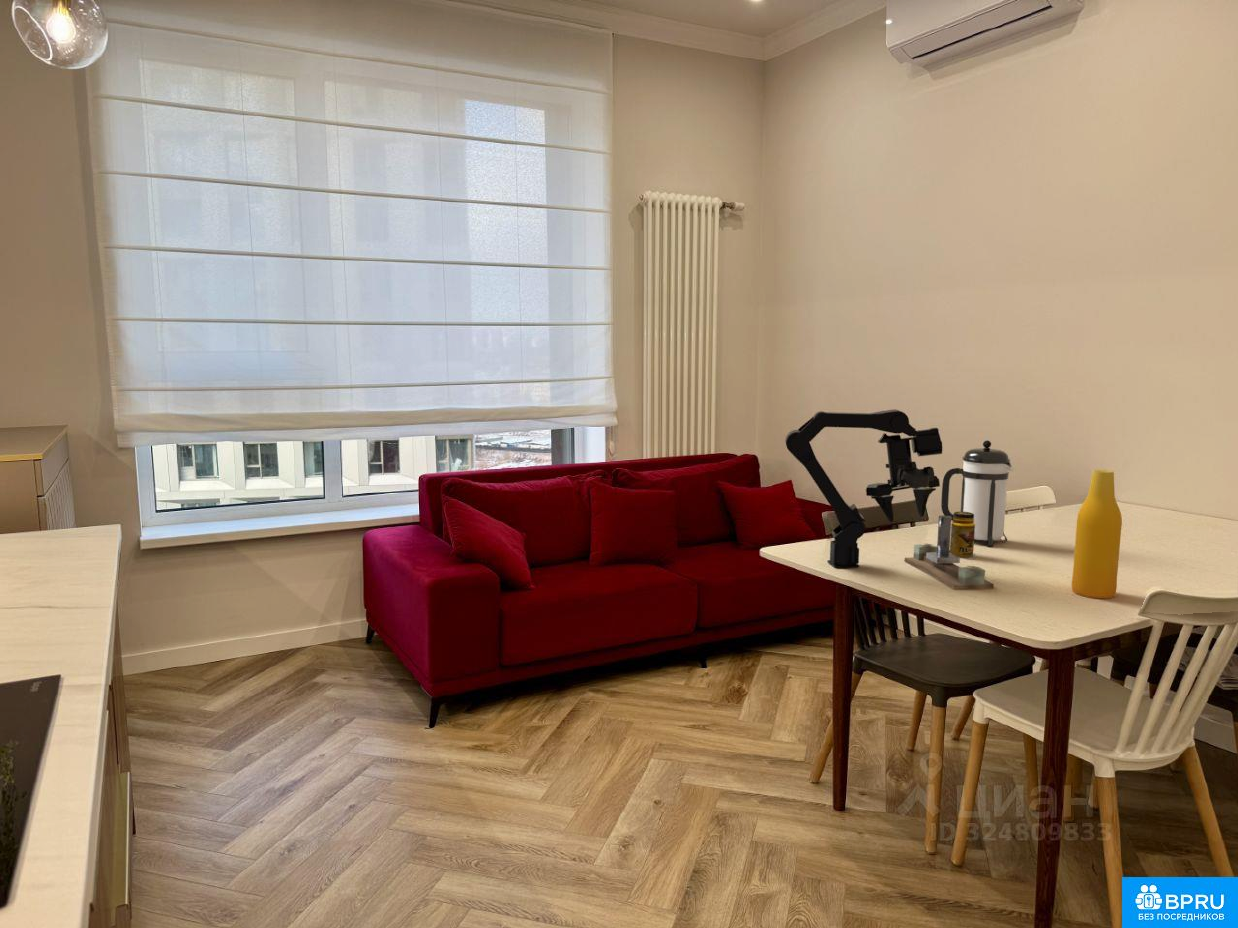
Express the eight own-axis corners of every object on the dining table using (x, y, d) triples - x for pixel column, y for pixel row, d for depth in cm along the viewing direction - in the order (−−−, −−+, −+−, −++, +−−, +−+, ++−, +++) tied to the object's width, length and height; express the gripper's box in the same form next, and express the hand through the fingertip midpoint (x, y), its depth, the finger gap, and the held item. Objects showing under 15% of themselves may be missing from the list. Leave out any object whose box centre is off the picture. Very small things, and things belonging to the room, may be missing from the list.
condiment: (972, 559, 237) (975, 516, 236) (939, 555, 241) (942, 513, 240) (976, 554, 244) (978, 511, 242) (944, 550, 248) (946, 508, 246)
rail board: (954, 589, 208) (955, 569, 208) (904, 561, 235) (905, 543, 234) (993, 588, 210) (995, 568, 209) (939, 560, 236) (940, 542, 235)
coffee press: (997, 535, 267) (1004, 437, 263) (1015, 547, 251) (1023, 443, 247) (938, 534, 269) (944, 436, 264) (953, 546, 253) (959, 442, 249)
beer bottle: (1101, 587, 210) (1111, 468, 206) (1124, 599, 201) (1135, 474, 197) (1063, 588, 210) (1072, 468, 206) (1084, 599, 201) (1095, 474, 197)
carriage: (936, 563, 221) (939, 519, 219) (926, 557, 227) (928, 514, 225) (959, 563, 222) (962, 518, 220) (948, 557, 228) (950, 514, 226)
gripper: (888, 463, 214) (895, 526, 214) (951, 453, 220) (957, 515, 220) (861, 463, 224) (868, 524, 225) (922, 454, 230) (928, 513, 231)
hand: (906, 519), depth 225 cm, fingers open, 9 cm apart
